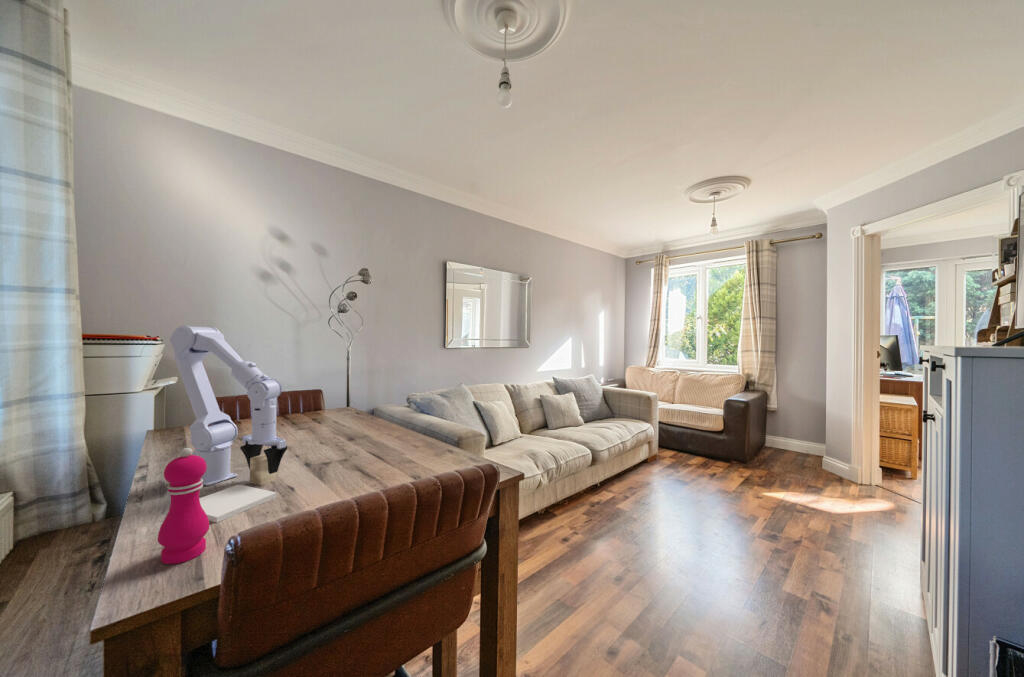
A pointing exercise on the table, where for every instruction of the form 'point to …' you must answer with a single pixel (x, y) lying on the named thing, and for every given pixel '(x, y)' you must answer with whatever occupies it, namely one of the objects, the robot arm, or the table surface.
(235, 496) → the white board
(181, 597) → the table surface
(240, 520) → the table surface
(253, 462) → the birch block
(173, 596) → the table surface
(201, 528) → the pepper mill
